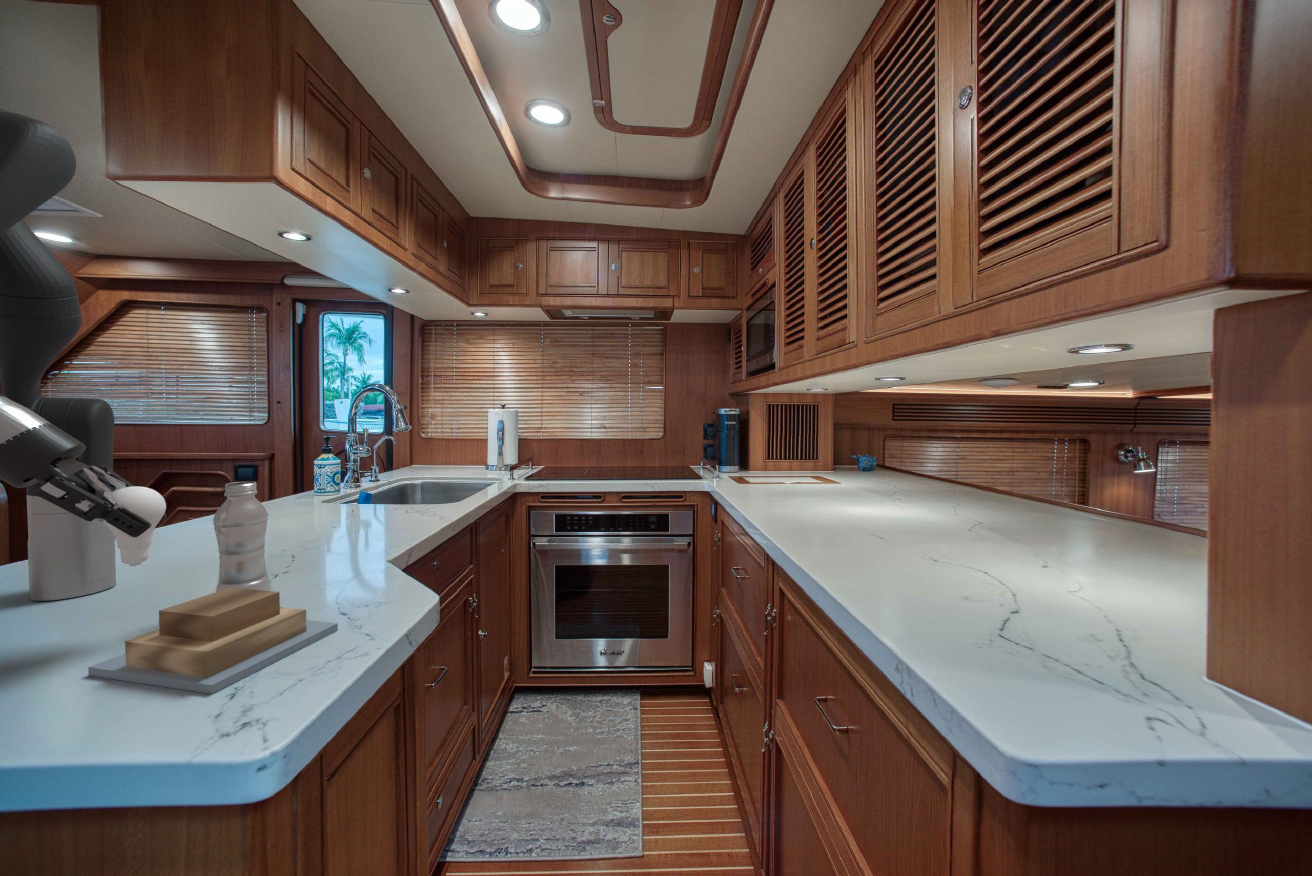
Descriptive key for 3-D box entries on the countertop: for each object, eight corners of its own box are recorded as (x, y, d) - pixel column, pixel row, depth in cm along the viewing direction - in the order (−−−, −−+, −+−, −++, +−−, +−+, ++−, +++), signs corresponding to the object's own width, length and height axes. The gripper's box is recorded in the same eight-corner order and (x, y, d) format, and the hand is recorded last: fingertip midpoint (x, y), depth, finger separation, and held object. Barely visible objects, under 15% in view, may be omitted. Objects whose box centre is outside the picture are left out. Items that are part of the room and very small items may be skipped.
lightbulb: (163, 555, 69) (161, 481, 68) (171, 565, 65) (169, 486, 64) (98, 566, 64) (96, 486, 63) (103, 576, 60) (100, 492, 59)
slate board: (88, 675, 54) (88, 667, 54) (235, 618, 70) (235, 612, 70) (212, 694, 51) (211, 685, 51) (337, 630, 67) (337, 623, 67)
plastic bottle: (281, 601, 77) (279, 480, 76) (241, 619, 70) (238, 486, 69) (246, 600, 77) (243, 480, 77) (202, 617, 71) (199, 485, 70)
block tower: (125, 666, 55) (124, 615, 54) (235, 623, 66) (234, 581, 66) (207, 678, 52) (206, 625, 52) (306, 631, 64) (305, 588, 64)
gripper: (11, 423, 53) (162, 516, 60) (73, 419, 65) (192, 497, 72) (-65, 471, 50) (102, 562, 58) (13, 458, 62) (144, 535, 70)
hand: (152, 526), depth 65 cm, fingers closed on lightbulb, 5 cm apart
